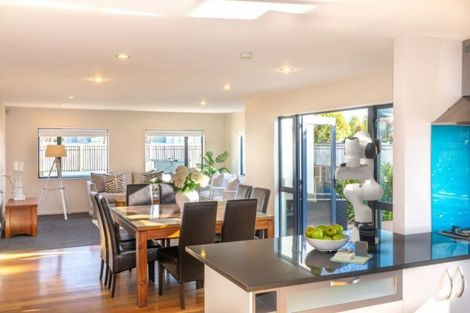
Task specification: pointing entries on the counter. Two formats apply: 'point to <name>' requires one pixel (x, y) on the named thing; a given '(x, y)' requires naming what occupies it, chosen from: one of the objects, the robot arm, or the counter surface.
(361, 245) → the plug
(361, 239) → the storage jar
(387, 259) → the counter surface
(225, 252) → the counter surface
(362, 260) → the board
